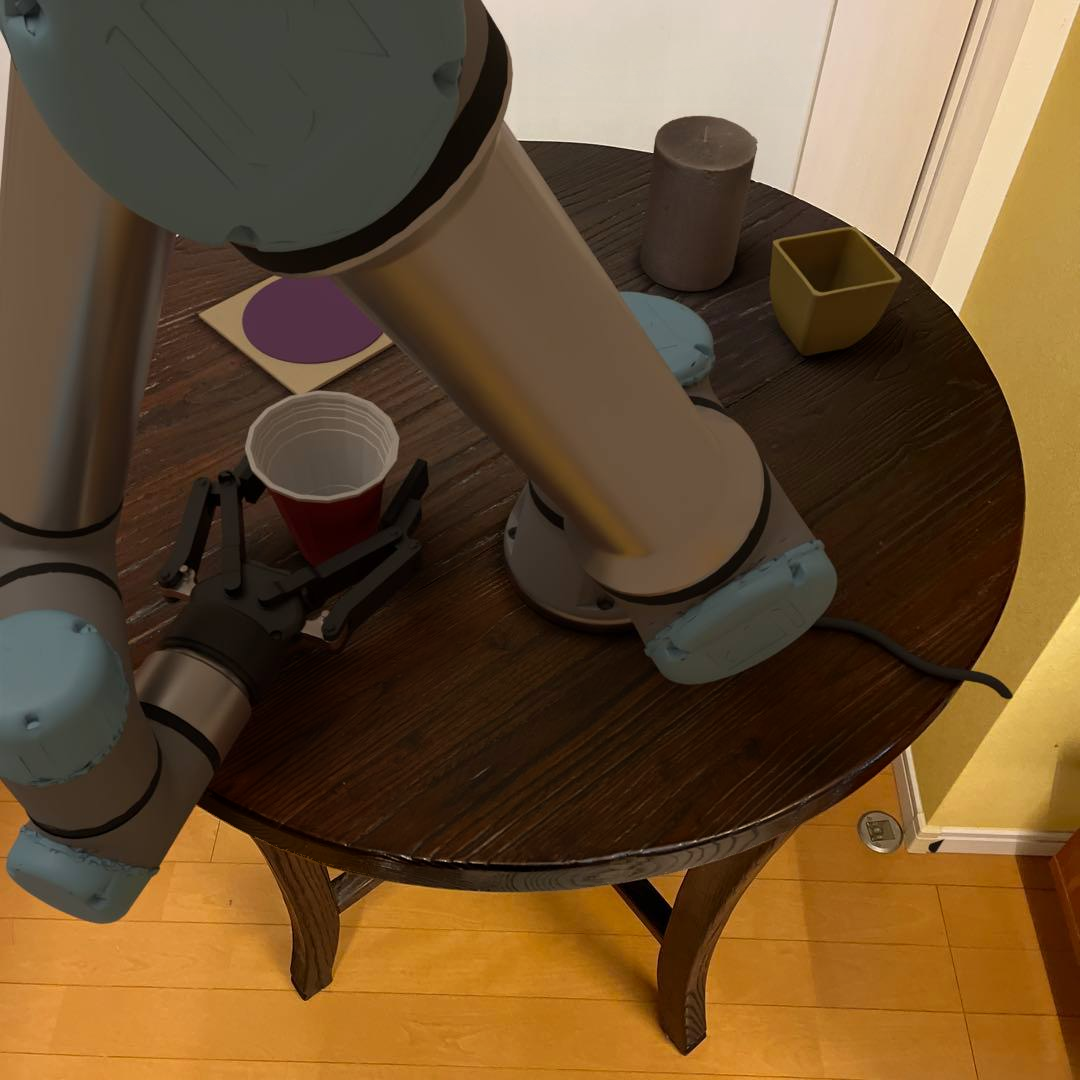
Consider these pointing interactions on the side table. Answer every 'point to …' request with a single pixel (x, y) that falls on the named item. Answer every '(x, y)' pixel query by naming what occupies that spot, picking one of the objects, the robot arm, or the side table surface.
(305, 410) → the plastic cup
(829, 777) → the side table surface
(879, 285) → the flower pot
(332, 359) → the place mat
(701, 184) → the pillar candle
